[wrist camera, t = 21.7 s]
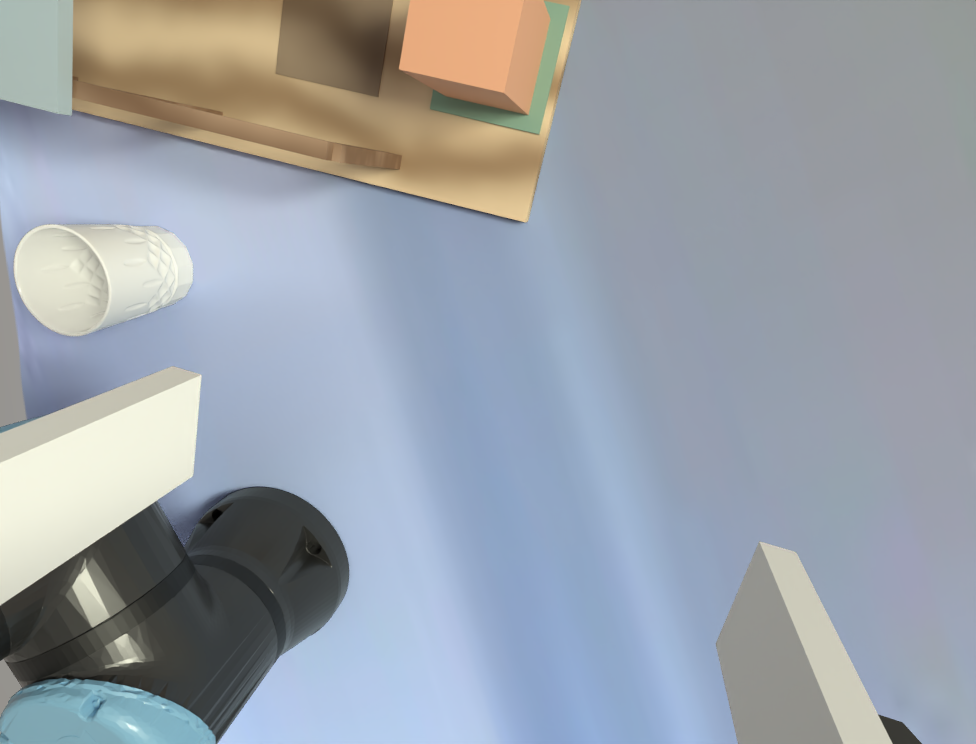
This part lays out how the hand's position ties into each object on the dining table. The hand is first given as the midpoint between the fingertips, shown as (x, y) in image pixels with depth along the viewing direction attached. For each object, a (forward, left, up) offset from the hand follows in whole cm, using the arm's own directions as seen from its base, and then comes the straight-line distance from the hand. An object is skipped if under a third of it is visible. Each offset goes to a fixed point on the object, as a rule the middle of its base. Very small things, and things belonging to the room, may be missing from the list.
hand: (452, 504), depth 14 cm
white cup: (-7, +34, -35) cm, 49 cm away
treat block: (+14, +9, -33) cm, 37 cm away
